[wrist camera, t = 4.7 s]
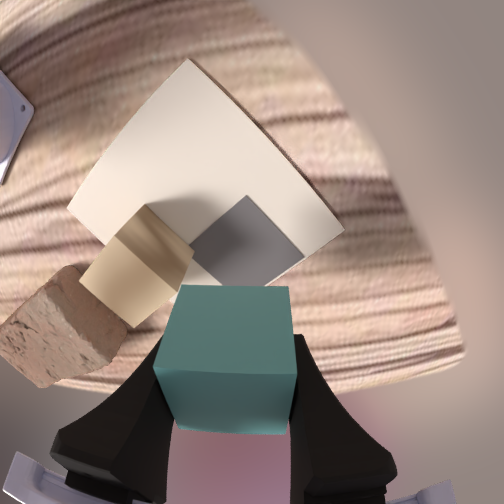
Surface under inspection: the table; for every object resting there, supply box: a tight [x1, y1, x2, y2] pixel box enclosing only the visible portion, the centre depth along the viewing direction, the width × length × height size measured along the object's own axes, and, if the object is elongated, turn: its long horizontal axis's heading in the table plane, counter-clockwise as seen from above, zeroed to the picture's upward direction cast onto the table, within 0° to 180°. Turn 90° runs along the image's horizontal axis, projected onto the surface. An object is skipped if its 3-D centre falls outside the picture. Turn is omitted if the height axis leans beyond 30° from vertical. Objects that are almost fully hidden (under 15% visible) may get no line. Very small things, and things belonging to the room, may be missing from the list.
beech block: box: [79, 204, 195, 328], centre depth 18 cm, size 4×4×4 cm
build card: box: [67, 59, 345, 304], centre depth 18 cm, size 14×13×1 cm
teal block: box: [153, 284, 297, 434], centre depth 12 cm, size 4×4×4 cm
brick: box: [0, 265, 127, 388], centre depth 23 cm, size 16×8×5 cm, turn 121°
